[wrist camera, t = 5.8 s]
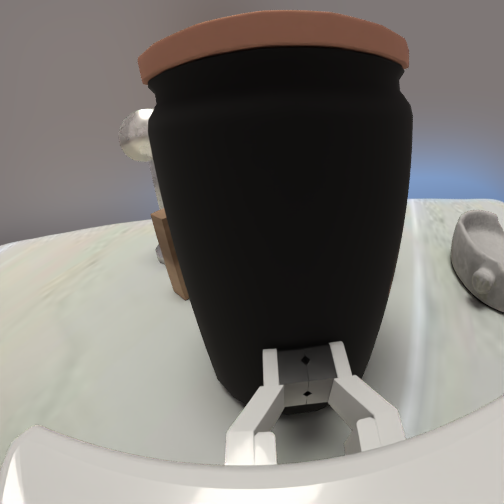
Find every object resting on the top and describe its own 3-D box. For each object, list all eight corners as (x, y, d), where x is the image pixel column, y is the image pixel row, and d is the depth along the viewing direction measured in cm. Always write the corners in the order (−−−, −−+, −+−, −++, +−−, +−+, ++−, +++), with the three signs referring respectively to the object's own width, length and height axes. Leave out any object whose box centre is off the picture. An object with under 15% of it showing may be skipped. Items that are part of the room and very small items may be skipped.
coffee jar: (392, 388, 14) (468, 53, 5) (225, 439, 13) (92, 35, 4) (331, 290, 23) (331, 62, 14) (208, 317, 22) (156, 77, 13)
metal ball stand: (153, 266, 29) (113, 117, 21) (164, 243, 34) (134, 112, 25) (195, 263, 29) (163, 104, 21) (202, 239, 33) (177, 102, 25)
